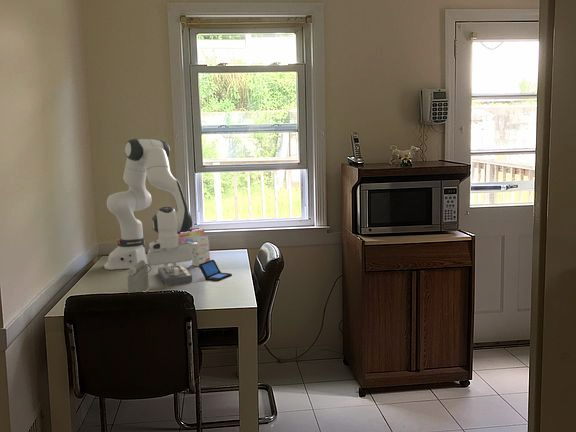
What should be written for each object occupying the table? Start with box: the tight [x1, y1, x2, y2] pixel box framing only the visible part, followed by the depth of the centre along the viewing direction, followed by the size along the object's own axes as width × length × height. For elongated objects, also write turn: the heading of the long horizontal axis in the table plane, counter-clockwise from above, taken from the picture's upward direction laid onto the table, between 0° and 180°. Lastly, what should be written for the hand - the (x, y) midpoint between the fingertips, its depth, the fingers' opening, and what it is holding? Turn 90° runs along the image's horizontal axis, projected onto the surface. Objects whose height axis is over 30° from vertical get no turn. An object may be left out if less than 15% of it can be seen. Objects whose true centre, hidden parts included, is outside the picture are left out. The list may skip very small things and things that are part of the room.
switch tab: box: [173, 267, 179, 276], centre depth 274 cm, size 2×3×3 cm, turn 20°
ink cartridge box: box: [191, 235, 211, 267], centre depth 307 cm, size 9×5×15 cm, turn 143°
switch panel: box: [157, 264, 193, 286], centre depth 282 cm, size 12×24×3 cm, turn 20°
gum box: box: [177, 227, 206, 253], centre depth 331 cm, size 24×8×14 cm, turn 134°
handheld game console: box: [198, 259, 233, 282], centre depth 279 cm, size 12×11×7 cm
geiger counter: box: [126, 260, 153, 293], centre depth 250 cm, size 14×6×25 cm
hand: (170, 272), depth 273 cm, fingers closed
